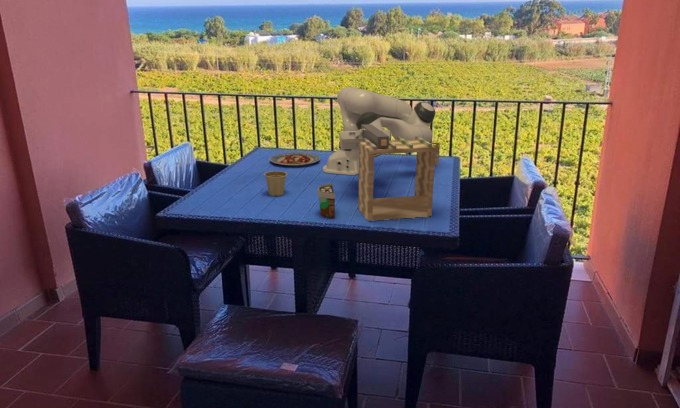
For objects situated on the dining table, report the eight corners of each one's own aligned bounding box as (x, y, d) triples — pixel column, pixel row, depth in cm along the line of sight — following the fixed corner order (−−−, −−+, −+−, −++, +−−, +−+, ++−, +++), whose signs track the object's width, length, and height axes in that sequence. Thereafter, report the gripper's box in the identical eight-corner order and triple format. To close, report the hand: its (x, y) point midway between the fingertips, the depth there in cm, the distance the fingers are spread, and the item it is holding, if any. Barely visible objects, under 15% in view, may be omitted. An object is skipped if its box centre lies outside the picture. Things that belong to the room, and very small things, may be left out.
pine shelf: (358, 208, 197) (359, 138, 188) (417, 204, 202) (421, 135, 193) (368, 221, 184) (369, 146, 176) (431, 217, 189) (436, 143, 180)
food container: (316, 208, 198) (316, 183, 194) (332, 208, 198) (332, 183, 195) (317, 220, 186) (317, 193, 183) (335, 219, 186) (335, 193, 183)
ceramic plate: (275, 155, 279) (275, 150, 278) (323, 157, 277) (323, 151, 276) (264, 168, 255) (264, 162, 254) (316, 169, 253) (316, 163, 252)
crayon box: (436, 163, 263) (438, 141, 259) (438, 165, 260) (440, 142, 256) (422, 164, 262) (424, 141, 258) (424, 165, 259) (426, 143, 255)
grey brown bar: (361, 134, 199) (361, 124, 198) (371, 134, 200) (371, 124, 199) (378, 149, 177) (378, 137, 176) (389, 148, 178) (389, 137, 176)
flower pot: (291, 191, 217) (291, 172, 215) (281, 198, 209) (281, 178, 206) (271, 189, 220) (270, 170, 218) (261, 196, 212) (260, 175, 209)
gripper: (386, 148, 210) (396, 137, 196) (337, 150, 206) (343, 139, 192) (385, 133, 211) (394, 121, 197) (335, 135, 207) (342, 123, 193)
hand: (369, 130), depth 195 cm, fingers closed on grey brown bar, 4 cm apart
